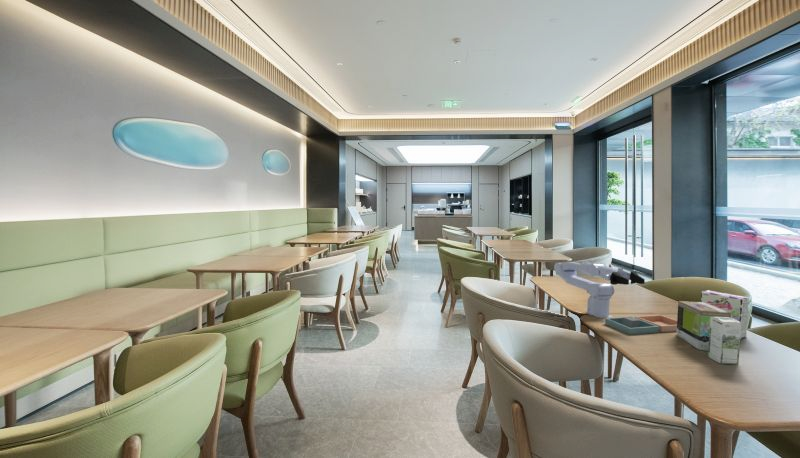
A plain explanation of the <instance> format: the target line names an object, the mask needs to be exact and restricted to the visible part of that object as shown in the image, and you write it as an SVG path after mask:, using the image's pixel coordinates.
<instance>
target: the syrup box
mask: <svg viewBox="0 0 800 458" xmlns="http://www.w3.org/2000/svg"><path fill="white" fill-rule="evenodd" d="M741 324H742V323H741V322H739V321H737V320H735V319H732V318H729V317H710V330H709V345H708V351H707V357H708V358H709V359H711V360H713V361H715V362H716V363H719V364H723V365H725V364H726V365H739V361H740V349H741V348H740V347H741V339H740V337H741Z"/></svg>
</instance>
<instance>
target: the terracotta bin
mask: <svg viewBox="0 0 800 458" xmlns="http://www.w3.org/2000/svg"><path fill="white" fill-rule="evenodd" d="M634 318H637V319H640V320H642V321H645V322H648V323H651V324H653V325H656V326H659V332H660V333H668V332H669V333H670V332H677V319H675V318H671V317H668V316H665V315H663V314H654V315H653V314H652V315H638V316H637V315H636V316H634Z"/></svg>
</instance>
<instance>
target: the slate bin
mask: <svg viewBox="0 0 800 458" xmlns="http://www.w3.org/2000/svg"><path fill="white" fill-rule="evenodd" d="M623 317H624V316H622V317H621V316H620V317H604V318H605V319H604V321H605V322H604V324H605V325H607V326H609V327H612V328H613V329H616V330H619V331H621V332H623V333H626V334H628V335H631V336H632V335H642V334H643V335H644V334H654V333H656V334H657V333H659V332H660V331H659V326H656V325H653V324H651V323H648V322H645V321H642V320H640V319H638V320H640V327H636V328H629V327H627V326H624V325H622V320H623ZM632 317H633V318H635V316H632ZM636 319H637V318H636Z"/></svg>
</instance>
